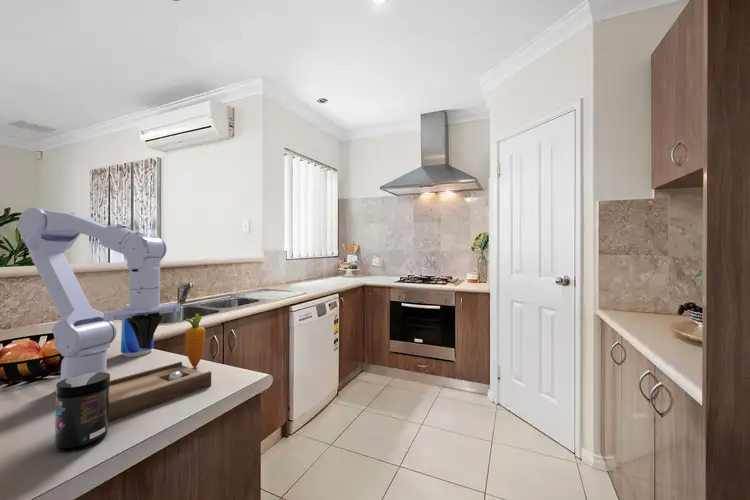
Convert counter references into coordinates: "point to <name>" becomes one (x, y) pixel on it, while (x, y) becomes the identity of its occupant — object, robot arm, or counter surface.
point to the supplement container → (81, 411)
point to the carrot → (195, 340)
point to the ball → (175, 376)
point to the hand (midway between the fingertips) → (144, 347)
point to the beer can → (132, 340)
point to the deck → (152, 388)
